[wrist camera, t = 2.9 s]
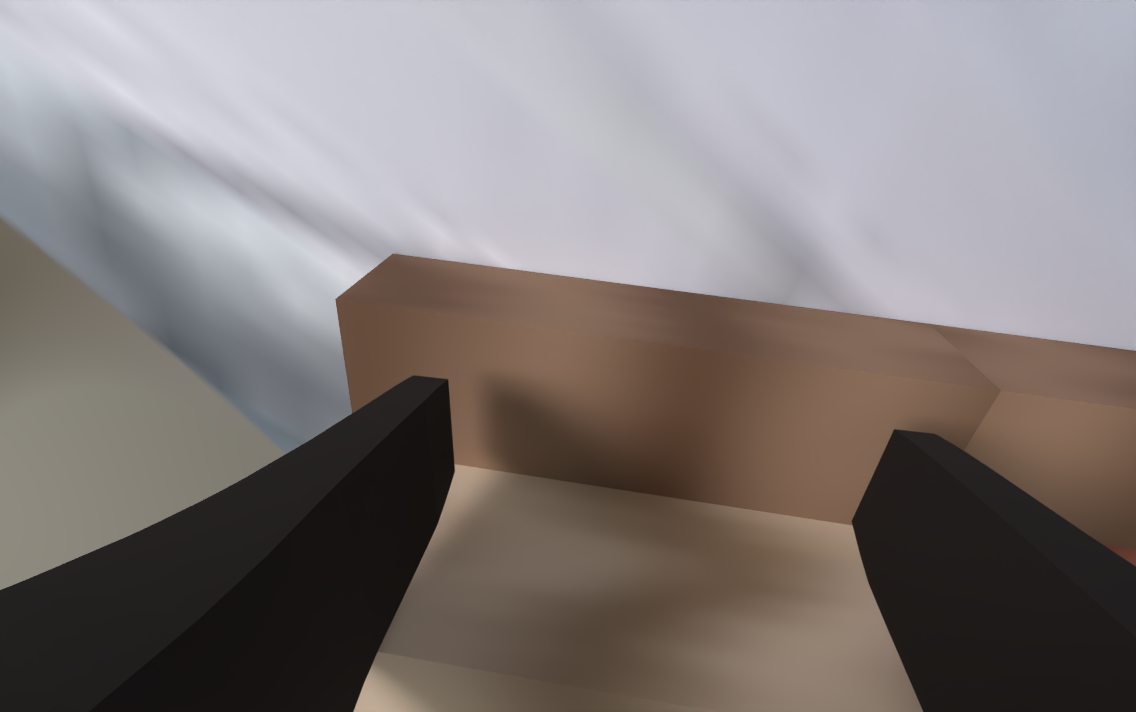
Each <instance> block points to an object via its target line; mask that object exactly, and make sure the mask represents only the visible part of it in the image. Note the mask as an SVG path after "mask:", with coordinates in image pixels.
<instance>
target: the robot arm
mask: <svg viewBox="0 0 1136 712" xmlns="http://www.w3.org/2000/svg"><path fill="white" fill-rule="evenodd" d="M454 473H455V464H454V450H453V437H452V423H451V409H450V396H449V382H448V379H443V378H434V377H425V376H416V375H413V376H411V377H409V378H408V379H406V380H404V381H402V382H401V383H399V384H397V385H396V386H394V387H393V388H391V389H389V390H388V391H386V392H385V393H383V394H382V395H380V396H379V397H377V398H376V399H374V400H372V401H371V402H369V403H368V404H366V405H365V406H363V407H362V408H360V409H359V410H357V411H356V412H354V413H352V414H351V415H349V416H348V417H346V418H344V419H343V420H341V421H340V422H338V423H337V424H335V425H333V426H332V427H330V428H329V429H327V430H326V431H324V432H322V433H321V434H319V435H318V436H316V437H314V438H313V439H311V440H310V441H308V442H306V443H305V444H303V445H301V446H299V447H298V448H296V449H294V450H292V451H291V452H289V453H287V454H286V455H284V456H282V457H280V458H279V459H277V460H275V461H273V462H272V463H270V464H268V465H267V466H265V467H263V468H261V469H260V470H258V471H256V472H255V473H253V474H251V475H249V476H248V477H246V478H244V479H242V480H241V481H239V482H237V483H235V484H233V485H231V486H229V487H228V488H226V489H224V490H222V491H220V492H218V493H216V494H214V495H212V496H211V497H208V498H207V499H205V500H203V501H201V502H199V503H197V504H195V505H193V506H191V507H189V508H186V509H185V510H182V511H180V512H178V513H176V514H174V515H172V516H170V517H168V518H166V519H164V520H162V521H160V522H158V523H156V524H154V525H152V526H149V527H147V528H145V529H143V530H141V531H139V532H136V533H134V534H132V535H130V536H128V537H125V538H123V539H121V540H118V541H116V542H114V543H111V544H109V545H107V546H104V547H102V548H100V549H97V550H95V551H93V552H90V553H88V554H86V555H83V556H81V557H79V558H76V559H74V560H72V561H69V562H67V563H65V564H62V565H60V566H58V567H55V568H53V569H51V570H48V571H46V572H44V573H41V574H39V575H37V576H34V577H32V578H30V579H27V580H25V581H22V582H20V583H17V584H15V585H12V586H10V587H7V588H5V589H2V590H0V712H354V709H355V706H356V704H357V701H358V698H359V696H360V693H361V690H362V687H363V685H364V682H365V680H366V678H367V675H368V673H369V671H370V668H371V666H372V664H373V661H374V659H375V657H376V654H377V652H378V650H379V648H380V646H381V644H382V642H383V639H384V637H385V635H386V633H387V631H388V629H389V627H390V625H391V623H392V620H393V618H394V616H395V614H396V612H397V610H398V608H399V606H400V604H401V602H402V599H403V597H404V595H405V593H406V591H407V589H408V587H409V585H410V583H411V581H412V578H413V576H414V574H415V572H416V570H417V568H418V566H419V564H420V562H421V559H422V557H423V555H424V553H425V551H426V549H427V547H428V544H429V542H430V540H431V538H432V536H433V534H434V531H435V529H436V527H437V525H438V522H439V519H440V516H441V513H442V510H443V507H444V504H445V502H446V498H447V495H448V492H449V489H450V486H451V483H452V479H453V476H454ZM852 525H853V529H854V533H855V537H856V541H857V545H858V549H859V553H860V556H861V560H862V563H863V567H864V570H865V573H866V577H867V580H868V583H869V586H870V588H871V590H872V593H873V595H874V598H875V600H876V603H877V605H878V607H879V610H880V612H881V615H882V617H883V619H884V622H885V624H886V626H887V629H888V631H889V634H890V636H891V638H892V641H893V643H894V645H895V648H896V650H897V652H898V654H899V657H900V659H901V661H902V664H903V666H904V668H905V671H906V673H907V675H908V678H909V680H910V682H911V685H912V687H913V689H914V692H915V694H916V696H917V699H918V701H919V703H920V705H921V708H922V710H923V712H1136V566H1135V565H1133V564H1132V563H1130V562H1128V561H1127V560H1125V559H1124V558H1122V557H1121V556H1119V555H1118V554H1116V553H1115V552H1113V551H1112V550H1110V549H1109V548H1107V547H1106V546H1104V545H1103V544H1101V543H1100V542H1098V541H1097V540H1095V539H1094V538H1092V537H1091V536H1089V535H1088V534H1086V533H1085V532H1083V531H1082V530H1080V529H1079V528H1077V527H1076V526H1074V525H1073V524H1071V523H1070V522H1069V521H1067V520H1066V519H1064V518H1063V517H1061V516H1060V515H1058V514H1057V513H1055V512H1054V511H1052V510H1051V509H1049V508H1048V507H1047V506H1045V505H1044V504H1042V503H1041V502H1039V501H1038V500H1036V499H1035V498H1033V497H1032V496H1030V495H1029V494H1028V493H1026V492H1025V491H1023V490H1022V489H1020V488H1019V487H1017V486H1016V485H1014V484H1013V483H1011V482H1010V481H1008V480H1007V479H1006V478H1004V477H1003V476H1001V475H1000V474H998V473H997V472H995V471H994V470H992V469H991V468H989V467H988V466H986V465H985V464H983V463H982V462H980V461H979V460H977V459H976V458H974V457H973V456H971V455H970V454H968V453H966V452H965V451H963V450H962V449H960V448H959V447H957V446H955V445H954V444H952V443H950V442H949V441H947V440H945V439H943V438H942V437H940V436H938V435H936V434H933V433H924V432H915V431H906V430H897V429H894V431H893V433H892V435H891V437H890V439H889V441H888V444H887V446H886V448H885V450H884V452H883V454H882V457H881V459H880V461H879V463H878V465H877V467H876V469H875V472H874V474H873V476H872V478H871V480H870V482H869V485H868V487H867V489H866V491H865V493H864V495H863V497H862V500H861V502H860V504H859V506H858V508H857V510H856V512H855V515H854V517H853V519H852Z"/></svg>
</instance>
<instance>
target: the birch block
mask: <svg viewBox="0 0 1136 712" xmlns="http://www.w3.org/2000/svg"><path fill="white" fill-rule="evenodd" d="M354 712H923V710H922V708H921V705H920V703H919V701H918V699H917V696H916V694H915V692H914V689H913V687H912V685H911V682H910V680H909V678H908V675H907V673H906V671H905V668H904V666H903V664H902V661H901V659H900V657H899V654H898V652H897V650H896V648H895V645H894V643H893V641H892V638H891V636H890V634H889V631H888V629H887V626H886V624H885V622H884V619H883V617H882V615H881V612H880V610H879V607H878V605H877V603H876V600H875V598H874V595H873V593H872V590H871V588H870V586H869V583H868V580H867V577H866V573H865V570H864V567H863V563H862V560H861V556H860V553H859V549H858V545H857V541H856V537H855V533H854V529H853V525H846V524H840V523H833V522H827V521H820V520H814V519H807V518H801V517H794V516H788V515H781V514H775V513H768V512H762V511H755V510H749V509H742V508H736V507H729V506H723V505H716V504H710V503H703V502H697V501H690V500H684V499H677V498H671V497H664V496H658V495H651V494H645V493H638V492H632V491H625V490H619V489H612V488H606V487H599V486H593V485H586V484H580V483H573V482H567V481H560V480H554V479H547V478H541V477H535V476H528V475H522V474H515V473H509V472H502V471H496V470H489V469H483V468H476V467H470V466H463V465H457V464H455V473H454V476H453V479H452V483H451V486H450V489H449V492H448V495H447V498H446V502H445V504H444V507H443V510H442V513H441V516H440V519H439V522H438V525H437V527H436V529H435V531H434V534H433V536H432V538H431V540H430V542H429V544H428V547H427V549H426V551H425V553H424V555H423V557H422V559H421V562H420V564H419V566H418V568H417V570H416V572H415V574H414V576H413V578H412V581H411V583H410V585H409V587H408V589H407V591H406V593H405V595H404V597H403V599H402V602H401V604H400V606H399V608H398V610H397V612H396V614H395V616H394V618H393V620H392V623H391V625H390V627H389V629H388V631H387V633H386V635H385V637H384V639H383V642H382V644H381V646H380V648H379V650H378V652H377V654H376V657H375V659H374V661H373V664H372V666H371V668H370V671H369V673H368V675H367V678H366V680H365V682H364V685H363V687H362V690H361V693H360V696H359V698H358V701H357V704H356V706H355V709H354Z"/></svg>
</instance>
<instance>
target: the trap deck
mask: <svg viewBox="0 0 1136 712" xmlns="http://www.w3.org/2000/svg"><path fill="white" fill-rule="evenodd" d="M336 306H337V313H338V320H339V326H340V333H341V340H342V346H343V353H344V360H345V367H346V373H347V380H348V387H349V394H350V400H351V407H352V413H354V412H356V411H357V410H359V409H360V408H362V407H363V406H365V405H366V404H368V403H369V402H371V401H372V400H374V399H376V398H377V397H379V396H380V395H382V394H383V393H385V392H386V391H388V390H389V389H391V388H393V387H394V386H396V385H397V384H399V383H401V382H402V381H404V380H406V379H408V378H409V377H411V376H413V375H416V376H425V377H434V378H443V379H448V382H449V396H450V409H451V423H452V437H453V450H454V464H457V465H463V466H470V467H476V468H483V469H489V470H496V471H502V472H509V473H515V474H522V475H528V476H535V477H541V478H547V479H554V480H560V481H567V482H573V483H580V484H586V485H593V486H599V487H606V488H612V489H619V490H625V491H632V492H638V493H645V494H651V495H658V496H664V497H671V498H677V499H684V500H690V501H697V502H703V503H710V504H716V505H723V506H729V507H736V508H742V509H749V510H755V511H762V512H768V513H775V514H781V515H788V516H794V517H801V518H807V519H814V520H820V521H827V522H833V523H840V524H846V525H852V519H853V517H854V515H855V512H856V510H857V508H858V506H859V504H860V502H861V500H862V497H863V495H864V493H865V491H866V489H867V487H868V485H869V482H870V480H871V478H872V476H873V474H874V472H875V469H876V467H877V465H878V463H879V461H880V459H881V457H882V454H883V452H884V450H885V448H886V446H887V444H888V441H889V439H890V437H891V435H892V433H893V431H894V429H897V430H906V431H915V432H924V433H933V434H936V435H938V436H940V437H942V438H943V439H945V440H947V441H949V442H950V443H952V444H954V445H955V446H957V447H959V448H960V449H962V450H963V451H965V452H966V453H968V454H970V455H971V456H973V457H974V458H976V459H977V460H979V461H980V462H982V463H983V464H985V465H986V466H988V467H989V468H991V469H992V470H994V471H995V472H997V473H998V474H1000V475H1001V476H1003V477H1004V478H1006V479H1007V480H1008V481H1010V482H1011V483H1013V484H1014V485H1016V486H1017V487H1019V488H1020V489H1022V490H1023V491H1025V492H1026V493H1028V494H1029V495H1030V496H1032V497H1033V498H1035V499H1036V500H1038V501H1039V502H1041V503H1042V504H1044V505H1045V506H1047V507H1048V508H1049V509H1051V510H1052V511H1054V512H1055V513H1057V514H1058V515H1060V516H1061V517H1063V518H1064V519H1066V520H1067V521H1069V522H1070V523H1071V524H1073V525H1074V526H1076V527H1077V528H1079V529H1080V530H1082V531H1083V532H1085V533H1086V534H1088V535H1089V536H1091V537H1092V538H1094V539H1095V540H1097V541H1098V542H1100V543H1101V544H1103V545H1104V546H1106V547H1107V548H1109V549H1110V550H1112V551H1113V552H1115V553H1116V554H1118V555H1119V556H1121V557H1122V558H1124V559H1125V560H1127V561H1128V562H1130V563H1132V564H1133V565H1135V566H1136V351H1131V350H1123V349H1116V348H1108V347H1100V346H1093V345H1085V344H1078V343H1070V342H1062V341H1055V340H1047V339H1039V338H1032V337H1024V336H1016V335H1009V334H1001V333H994V332H986V331H978V330H971V329H963V328H955V327H948V326H940V325H932V324H925V323H917V322H909V321H902V320H894V319H887V318H879V317H871V316H864V315H856V314H848V313H841V312H833V311H825V310H818V309H810V308H803V307H795V306H787V305H780V304H772V303H764V302H757V301H749V300H741V299H734V298H726V297H718V296H711V295H703V294H696V293H688V292H680V291H673V290H665V289H657V288H650V287H642V286H634V285H627V284H619V283H611V282H604V281H596V280H589V279H581V278H573V277H566V276H558V275H550V274H543V273H535V272H527V271H520V270H512V269H505V268H497V267H489V266H482V265H474V264H466V263H459V262H451V261H443V260H436V259H428V258H420V257H413V256H405V255H398V254H392V255H391V256H389V257H388V258H387V259H386V260H384V261H383V262H382V263H381V264H379V265H378V266H377V267H376V268H374V269H373V270H372V271H370V272H369V273H368V274H367V275H365V276H364V277H363V278H362V279H360V280H359V281H358V282H357V283H355V284H354V285H353V286H352V287H350V288H349V289H348V290H347V291H345V292H344V293H343V294H342V295H340V296H339V297H338V298H337V299H336Z"/></svg>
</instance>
